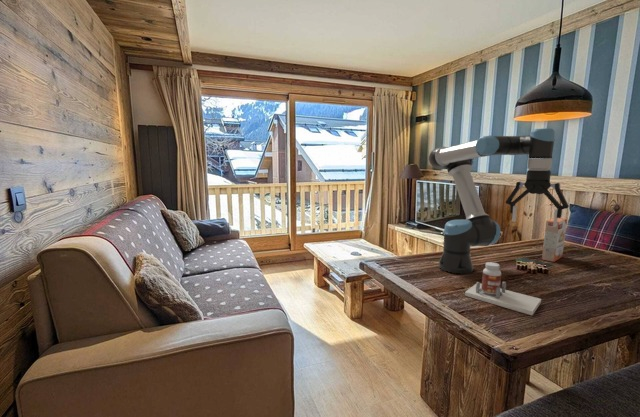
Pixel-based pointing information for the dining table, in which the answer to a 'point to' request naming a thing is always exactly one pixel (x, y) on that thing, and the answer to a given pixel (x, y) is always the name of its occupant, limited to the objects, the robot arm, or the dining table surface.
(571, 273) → the dining table surface
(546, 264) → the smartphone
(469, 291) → the pin tray
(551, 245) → the cracker box
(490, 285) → the pill bottle
